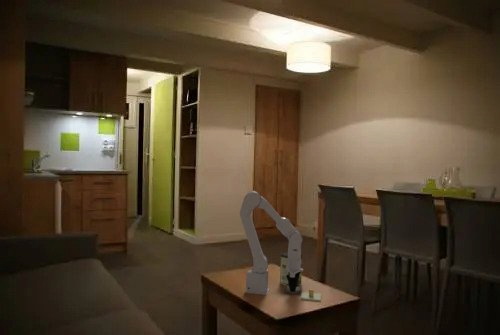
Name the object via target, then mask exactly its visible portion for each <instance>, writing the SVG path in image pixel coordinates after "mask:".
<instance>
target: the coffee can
mask: <svg viewBox="0 0 500 335" xmlns="http://www.w3.org/2000/svg"><path fill="white" fill-rule="evenodd" d="M279 266H280V267H279V268H280V270H279V271H280V273H279V275H280V276H279V283H280V285H283V286H286V287H287V284H289V282H288V280H287V277H286V275H289V272H288V271H287V266H288V251H282V252H280V265H279ZM301 269H303V253H301ZM302 272H303V271H301V273H300V275H299V276H300V277H299V279H298V282H297V284H299V285H300V286H301V285H302V274H303V273H302Z"/></svg>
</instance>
